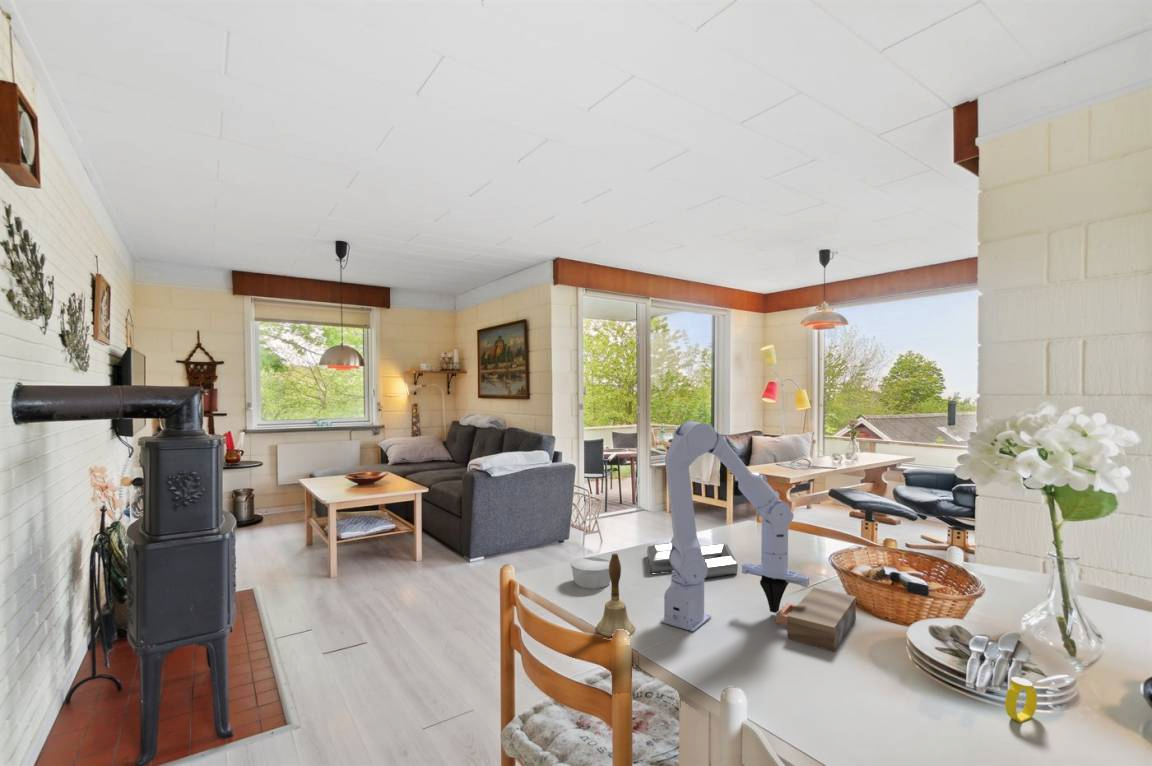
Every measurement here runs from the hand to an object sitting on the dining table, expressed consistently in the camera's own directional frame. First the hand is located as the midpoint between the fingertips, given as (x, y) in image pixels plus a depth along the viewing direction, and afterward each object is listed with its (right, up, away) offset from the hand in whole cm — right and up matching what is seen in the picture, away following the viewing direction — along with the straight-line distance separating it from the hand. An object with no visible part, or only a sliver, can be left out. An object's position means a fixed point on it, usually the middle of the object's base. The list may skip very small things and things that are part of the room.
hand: (774, 611), depth 125 cm
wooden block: (+8, -1, -6) cm, 10 cm away
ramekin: (-41, -1, +20) cm, 46 cm away
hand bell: (-37, -1, -7) cm, 37 cm away
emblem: (-12, -2, +35) cm, 37 cm away
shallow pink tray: (+6, -1, -5) cm, 8 cm away
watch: (+25, -1, -38) cm, 46 cm away
